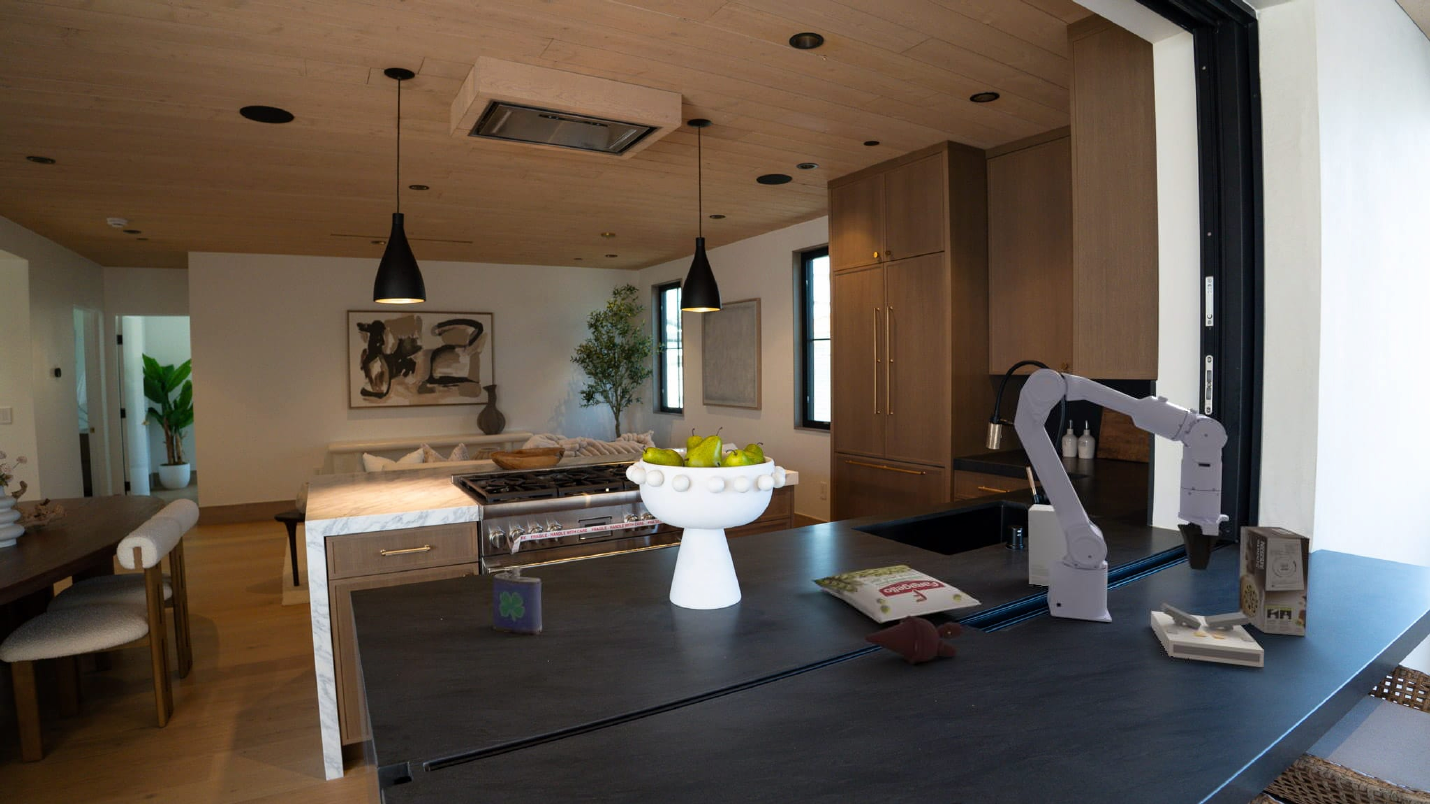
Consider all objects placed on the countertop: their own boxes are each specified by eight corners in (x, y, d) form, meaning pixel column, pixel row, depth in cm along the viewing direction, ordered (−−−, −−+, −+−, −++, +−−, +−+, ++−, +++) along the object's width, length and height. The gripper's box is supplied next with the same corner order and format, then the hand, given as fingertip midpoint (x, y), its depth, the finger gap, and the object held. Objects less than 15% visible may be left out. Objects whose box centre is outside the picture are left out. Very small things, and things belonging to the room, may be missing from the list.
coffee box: (1307, 636, 122) (1311, 538, 121) (1263, 633, 123) (1266, 536, 122) (1277, 617, 131) (1281, 526, 130) (1236, 615, 132) (1239, 524, 131)
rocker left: (1161, 616, 120) (1166, 607, 119) (1158, 611, 122) (1163, 602, 122) (1195, 633, 118) (1201, 624, 118) (1191, 627, 121) (1196, 618, 121)
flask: (545, 630, 126) (543, 567, 125) (534, 636, 123) (533, 572, 122) (499, 624, 129) (498, 562, 128) (488, 629, 126) (486, 566, 126)
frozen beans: (901, 552, 153) (985, 586, 129) (902, 580, 153) (985, 619, 130) (810, 565, 146) (880, 604, 122) (810, 595, 146) (881, 639, 123)
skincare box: (1076, 583, 151) (1078, 506, 150) (1072, 592, 146) (1074, 512, 145) (1032, 577, 156) (1033, 502, 155) (1026, 585, 150) (1027, 508, 149)
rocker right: (1211, 633, 118) (1208, 622, 118) (1206, 627, 120) (1203, 616, 120) (1249, 628, 116) (1246, 617, 116) (1244, 622, 118) (1241, 611, 118)
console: (1169, 656, 114) (1169, 639, 114) (1150, 625, 127) (1151, 610, 127) (1263, 667, 110) (1264, 649, 109) (1234, 634, 123) (1235, 618, 123)
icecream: (877, 632, 107) (975, 635, 109) (861, 603, 114) (954, 607, 116) (868, 674, 109) (965, 676, 111) (853, 643, 116) (944, 645, 118)
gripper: (1242, 497, 117) (1239, 583, 118) (1216, 482, 131) (1213, 559, 131) (1189, 494, 119) (1187, 578, 120) (1169, 480, 133) (1167, 556, 134)
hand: (1197, 568), depth 126 cm, fingers closed
